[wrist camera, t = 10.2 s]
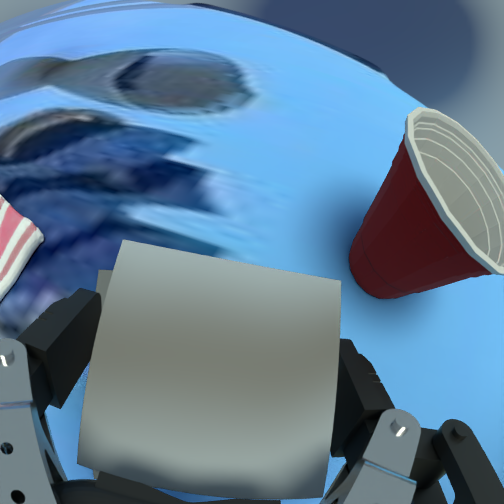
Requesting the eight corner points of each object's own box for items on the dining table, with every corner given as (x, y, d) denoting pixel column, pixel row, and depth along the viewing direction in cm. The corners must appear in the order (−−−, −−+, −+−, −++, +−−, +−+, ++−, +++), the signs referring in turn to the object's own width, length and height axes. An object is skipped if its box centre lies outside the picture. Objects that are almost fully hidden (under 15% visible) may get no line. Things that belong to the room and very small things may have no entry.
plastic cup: (407, 358, 20) (538, 311, 9) (294, 280, 21) (384, 166, 10) (439, 257, 24) (528, 185, 14) (351, 189, 26) (419, 86, 15)
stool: (243, 434, 15) (326, 500, 5) (149, 418, 15) (72, 465, 4) (254, 347, 18) (344, 277, 7) (163, 330, 17) (120, 235, 7)
